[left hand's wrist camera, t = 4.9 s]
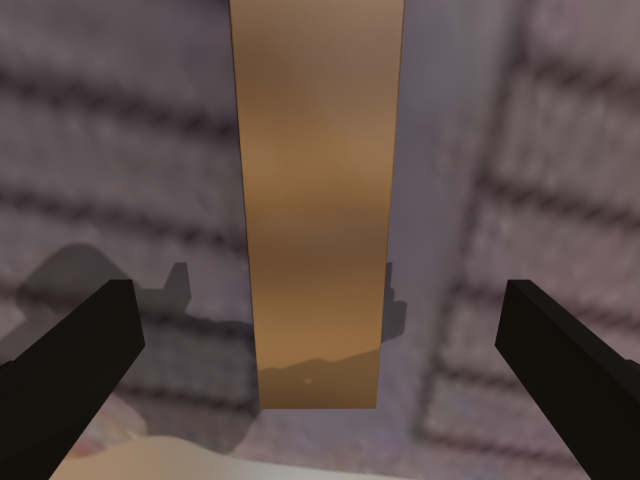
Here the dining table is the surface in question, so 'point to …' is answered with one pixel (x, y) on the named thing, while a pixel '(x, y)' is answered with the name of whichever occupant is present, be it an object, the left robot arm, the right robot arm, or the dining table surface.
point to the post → (317, 190)
